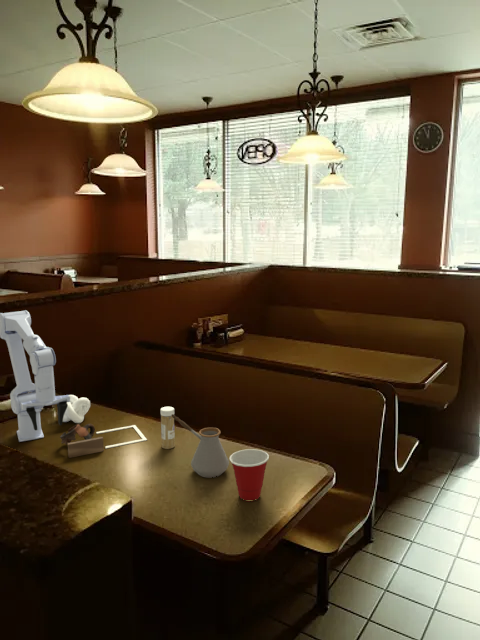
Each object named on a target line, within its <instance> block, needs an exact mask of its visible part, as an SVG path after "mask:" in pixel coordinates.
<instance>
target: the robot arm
mask: <svg viewBox="0 0 480 640" xmlns="http://www.w3.org/2000/svg"><path fill="white" fill-rule="evenodd" d="M31 317H32V316H31V314H30V312H29V311H28V310H26V309H25V310H21V311H19V310H18V311H10V312H4V313H3V312H0V339H2V340H4V341H5V342H6V346H7V348H8V349H7V350H8V352H9V353H8V354H9V357H10V361H11V366H12V370H13V375H14V379H15V383H16V386H15V387H14V388H13V389H12V390H11V391H10V395H9V398H10V406H11V410H12V412H13V414H16V415H17V424H18V425H17V426H18V430H16V434H17V438H18V442H19V443H20V442H26V441H32V440H38V439H43V438H44V437H45V436H44V433H43V430H42V424H41V412H42V409H43V408H44V407H45V406H52V405H56V408H57V422H58V425H59V426H62V425H63V422H62V421H63V417H64V413H65V411H66V409H67V406H68V404H67V402H70V396H69V395H70V394H66V395H65V394H64V395H56V390H55V389H56V388H55V387H56V385H55V375H54V374H55V373H54V366H55V365H56V363H57V358H56V354H55V351H54V349H53V348H52V347H49V346H46V344H45V343H44V341H43V339H42V338H41V337H40V336H39V335H38V334H34V331H33V329H32V327H31V325H32V318H31ZM25 351H26V352H27V354H28V356H29V362H30V365H31V370H32V374H33V375H34V383H33V381H32V379H31V378H32V377H31V374H30V371H29V366H28V361H27V357H26V353H25Z"/></svg>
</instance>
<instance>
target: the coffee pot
mask: <svg viewBox="0 0 480 640" xmlns="http://www.w3.org/2000/svg"><path fill="white" fill-rule="evenodd" d="M171 416H172V417H173V418H174V421H176V422H178V423H179V424H180V425H181V426H182V427H183V428H184V429H186V430H188V431H189V432H191V433H192V434H193V435H194V436H196V438H197V439H199V442H198V445H197V447H196V450H195V452H194V454H193V457H192V459H191V462H190V465H191V468H192V469H193V471H194V472H195V473H196V474H197V475H199V476H200V477H203V478H212V477H213V478H217V477H219V476H221V475H222V474H223V473H224V472H226V470H227V469H228V467H229V466H230V465H229V464H230V459H229V458H228V456H227V454H226V451H225V449H224V446H223V445H222V443H221V441H220V435H221V430H220V429H219V428H217V427H204V428H202V429H200V430H199V432H198V433H197V432H196V431H195V430H194V429H193V428H192V427H190V425H188V424H187V423H186V422H185V421H183V420H181V419H180V418H179V417H178V416H176V415H175V414H174V415H173V414H172V415H171ZM171 416H170V417H171ZM170 417H169V419H170ZM173 418H172V419H173ZM170 420H171V419H170ZM216 476H217V477H216Z"/></svg>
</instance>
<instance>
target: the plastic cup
mask: <svg viewBox="0 0 480 640" xmlns="http://www.w3.org/2000/svg"><path fill="white" fill-rule="evenodd" d="M269 457H270V454H268V452H266V451H264V450H262V449H257V448H256V449H255V448H246V449H242V450H241V449H240V450H237V451H235V452H233V453H232V454H231V455H229V458H228V460H229V462H230V463H231V465H232V468H233V472H234V478H235V483H236V487H237V493H238V496H240V497H239V499H241V498H242V499H244V500H255V499H258V498H259V497H261V493H262V488H263V484H264V479H265V472H266V467H267V463H268V461H269ZM242 499H241V500H242ZM259 499H260V498H259ZM259 499H258V500H259ZM244 500H243V501H244Z"/></svg>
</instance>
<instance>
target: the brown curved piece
mask: <svg viewBox="0 0 480 640" xmlns="http://www.w3.org/2000/svg"><path fill="white" fill-rule="evenodd" d="M95 431H96V428H95V426H94V424H92V423H87V424H85V425H84V426H81V425H80V423H76V424H75V425H73V426H72V427H70V428H69V429H67V433H66V432H63V433H62V434H61V435H60V436H59V438H60V439H61V445H63V444H65V445H67V446H68V443H72V441H75V440H77V438H76V434H77V435H78V436H79V437H80V438H83V440H88V439H93V436H94V434H95V433H96V432H95Z"/></svg>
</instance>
